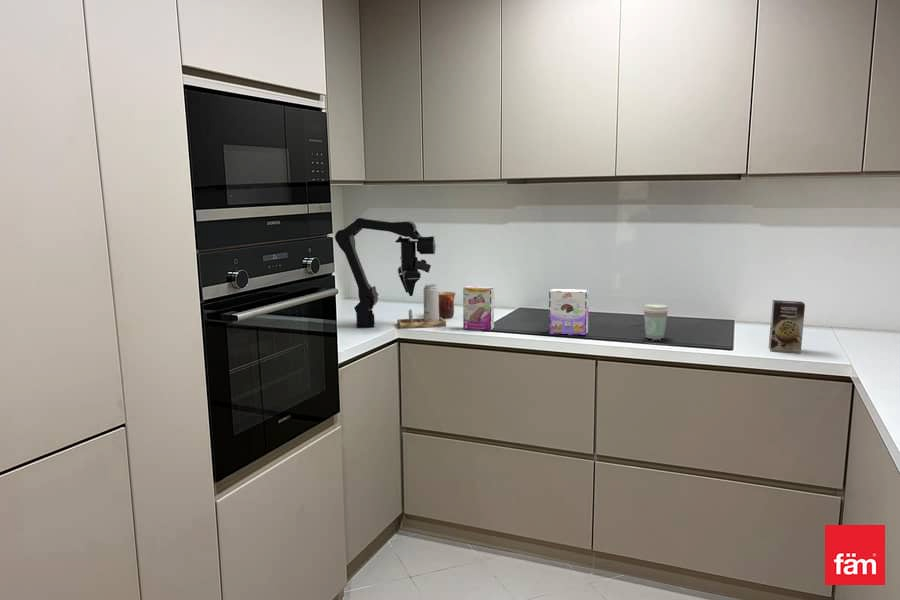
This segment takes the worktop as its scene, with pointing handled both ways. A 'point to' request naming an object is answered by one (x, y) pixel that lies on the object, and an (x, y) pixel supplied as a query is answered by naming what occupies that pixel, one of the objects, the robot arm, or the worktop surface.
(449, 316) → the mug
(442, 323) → the rack
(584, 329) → the candy box
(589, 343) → the worktop surface
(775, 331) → the brown cookie box
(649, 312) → the coffee cup
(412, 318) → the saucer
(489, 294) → the candy bar box
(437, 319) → the energy drink can
